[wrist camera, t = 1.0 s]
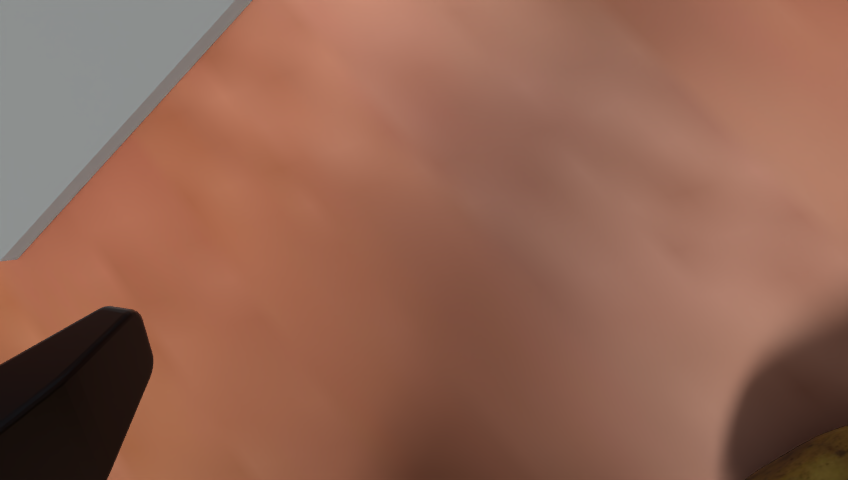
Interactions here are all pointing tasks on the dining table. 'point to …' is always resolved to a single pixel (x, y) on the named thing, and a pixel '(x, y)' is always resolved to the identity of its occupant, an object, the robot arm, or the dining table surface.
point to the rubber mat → (84, 92)
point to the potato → (811, 460)
